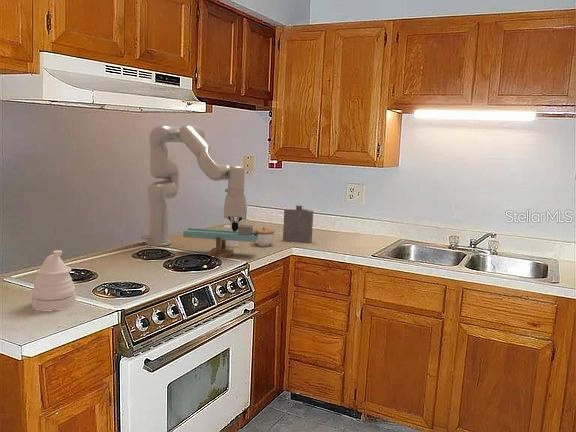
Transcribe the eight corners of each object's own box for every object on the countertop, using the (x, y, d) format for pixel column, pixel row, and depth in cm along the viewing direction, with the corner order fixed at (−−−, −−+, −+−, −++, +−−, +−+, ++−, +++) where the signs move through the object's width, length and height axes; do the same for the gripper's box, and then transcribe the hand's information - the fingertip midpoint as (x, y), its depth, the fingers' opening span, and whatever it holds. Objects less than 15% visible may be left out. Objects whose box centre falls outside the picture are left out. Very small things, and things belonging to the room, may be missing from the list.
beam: (182, 239, 239) (183, 228, 238) (188, 235, 249) (188, 225, 248) (255, 244, 237) (255, 233, 236) (258, 240, 247) (258, 230, 246)
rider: (237, 236, 239) (238, 226, 238) (240, 233, 245) (240, 224, 244) (250, 237, 238) (251, 227, 237) (252, 234, 244) (253, 225, 243)
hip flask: (282, 241, 280) (283, 204, 277) (283, 239, 284) (285, 203, 281) (311, 243, 278) (313, 206, 274) (312, 241, 282) (314, 205, 278)
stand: (207, 256, 238) (207, 237, 237) (213, 250, 251) (213, 232, 249) (228, 258, 237) (228, 238, 236) (233, 251, 250) (234, 233, 249)
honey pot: (84, 301, 170) (83, 248, 167) (55, 314, 158) (53, 257, 155) (53, 296, 174) (51, 244, 171) (22, 307, 162) (20, 252, 159)
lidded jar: (271, 247, 262) (271, 229, 261) (250, 246, 264) (251, 228, 263) (275, 243, 273) (275, 226, 271) (255, 242, 274) (256, 224, 273)
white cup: (221, 244, 266) (221, 225, 264) (236, 243, 269) (236, 224, 267) (225, 247, 259) (225, 228, 257) (240, 246, 261) (240, 227, 260)
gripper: (218, 192, 236) (217, 231, 239) (250, 193, 235) (249, 233, 237) (221, 190, 243) (220, 228, 246) (253, 192, 242) (251, 230, 245)
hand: (234, 230), depth 242 cm, fingers closed
